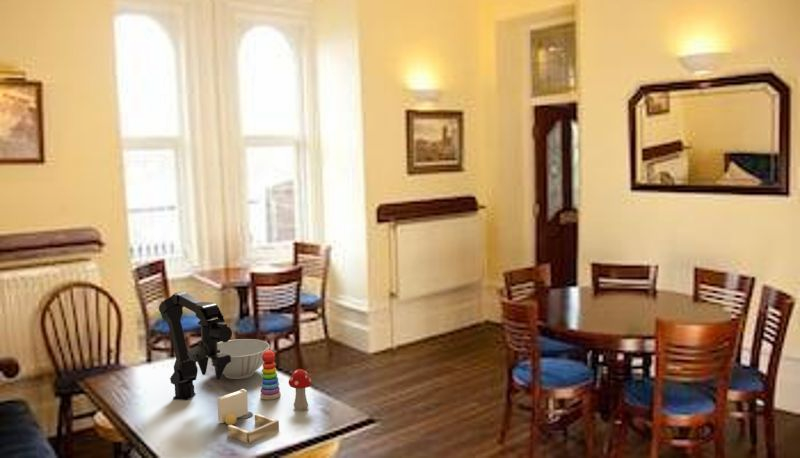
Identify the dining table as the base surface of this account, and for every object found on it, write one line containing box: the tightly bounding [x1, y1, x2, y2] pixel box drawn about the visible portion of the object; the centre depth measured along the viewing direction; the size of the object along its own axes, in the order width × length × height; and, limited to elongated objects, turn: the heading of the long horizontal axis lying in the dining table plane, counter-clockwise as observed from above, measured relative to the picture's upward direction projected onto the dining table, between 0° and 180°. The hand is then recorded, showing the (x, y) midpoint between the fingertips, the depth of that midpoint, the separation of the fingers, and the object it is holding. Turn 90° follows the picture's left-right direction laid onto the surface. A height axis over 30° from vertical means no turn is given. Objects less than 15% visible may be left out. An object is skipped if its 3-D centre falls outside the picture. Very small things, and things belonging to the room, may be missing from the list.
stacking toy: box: [259, 349, 281, 401], centre depth 268 cm, size 8×8×19 cm
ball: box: [224, 414, 238, 426], centre depth 242 cm, size 4×4×4 cm
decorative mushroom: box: [288, 368, 313, 412], centre depth 256 cm, size 10×9×15 cm
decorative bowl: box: [208, 338, 271, 380], centre depth 296 cm, size 27×27×12 cm
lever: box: [216, 388, 249, 424], centre depth 246 cm, size 2×11×9 cm, turn 138°
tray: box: [227, 413, 280, 444], centre depth 235 cm, size 11×13×4 cm
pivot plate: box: [237, 411, 253, 420], centre depth 250 cm, size 6×6×1 cm
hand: (210, 377), depth 257 cm, fingers open, 9 cm apart
